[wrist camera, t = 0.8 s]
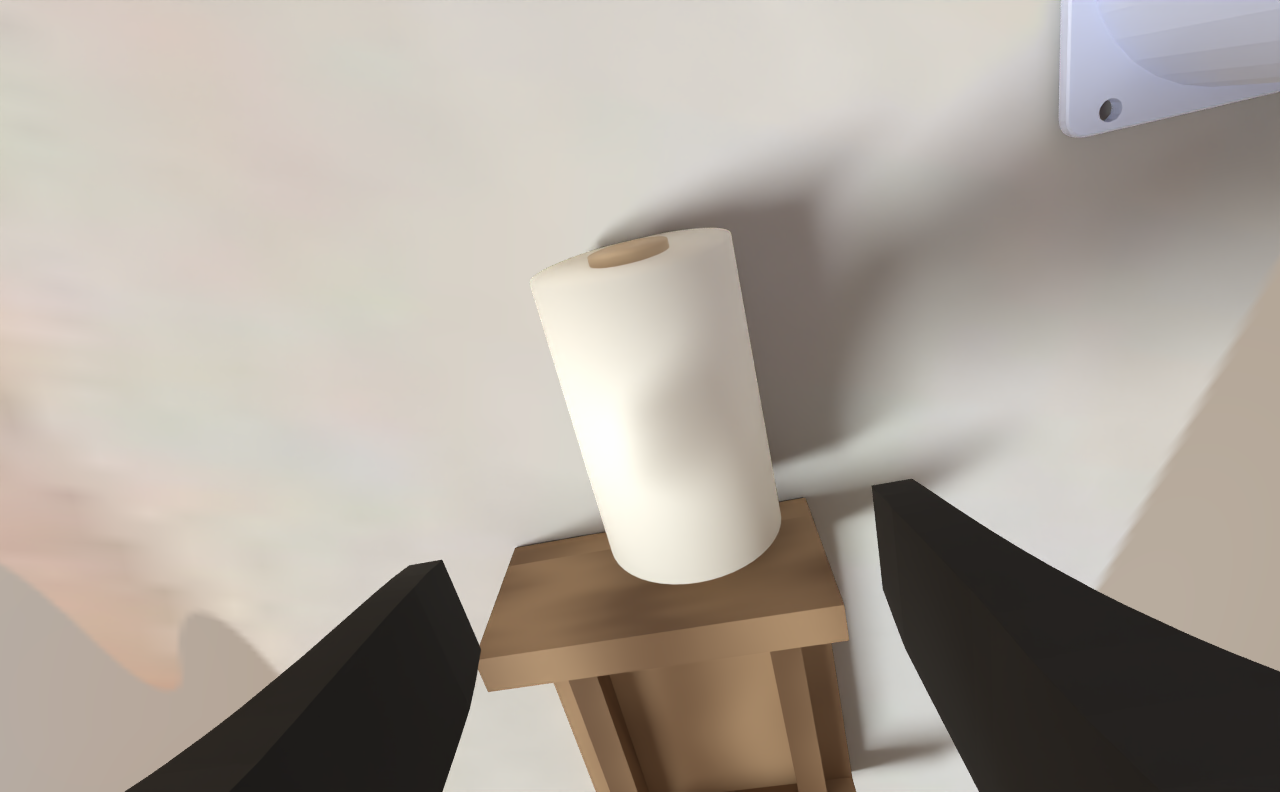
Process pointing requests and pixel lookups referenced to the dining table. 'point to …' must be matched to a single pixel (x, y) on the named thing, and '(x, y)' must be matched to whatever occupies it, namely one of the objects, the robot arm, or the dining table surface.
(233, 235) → the dining table surface
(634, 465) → the roll
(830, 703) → the holder
